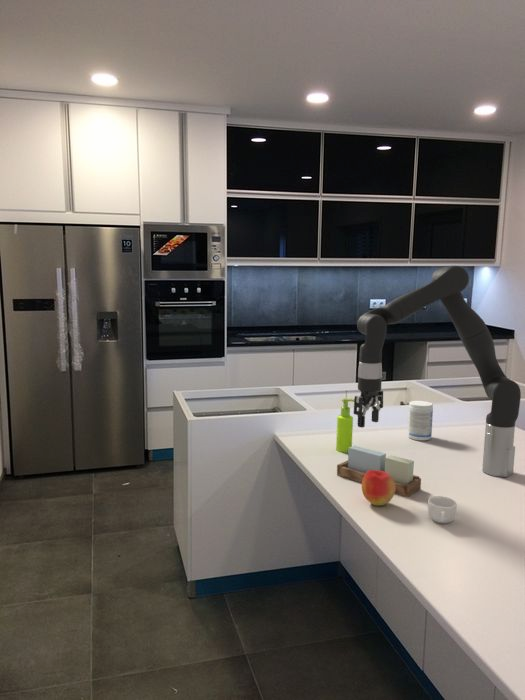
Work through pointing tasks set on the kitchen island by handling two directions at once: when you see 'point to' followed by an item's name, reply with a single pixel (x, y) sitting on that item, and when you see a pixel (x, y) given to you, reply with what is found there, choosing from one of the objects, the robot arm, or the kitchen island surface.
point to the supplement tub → (420, 420)
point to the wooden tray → (400, 488)
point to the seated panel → (399, 469)
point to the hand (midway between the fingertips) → (368, 424)
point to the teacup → (441, 509)
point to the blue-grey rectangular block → (365, 459)
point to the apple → (378, 487)
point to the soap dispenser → (344, 428)
